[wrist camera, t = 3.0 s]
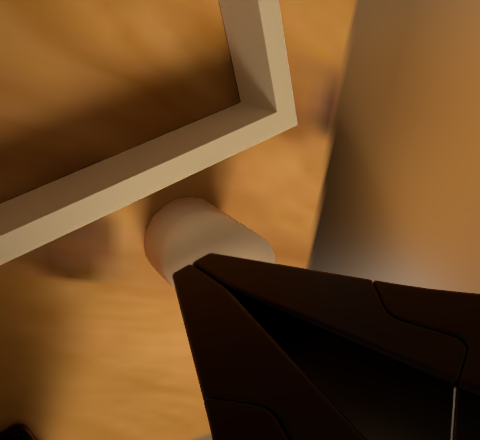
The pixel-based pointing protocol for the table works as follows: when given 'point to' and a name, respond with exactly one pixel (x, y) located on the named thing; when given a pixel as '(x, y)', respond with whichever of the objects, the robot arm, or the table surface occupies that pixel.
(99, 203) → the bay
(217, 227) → the cream capsule cylinder
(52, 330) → the table surface
